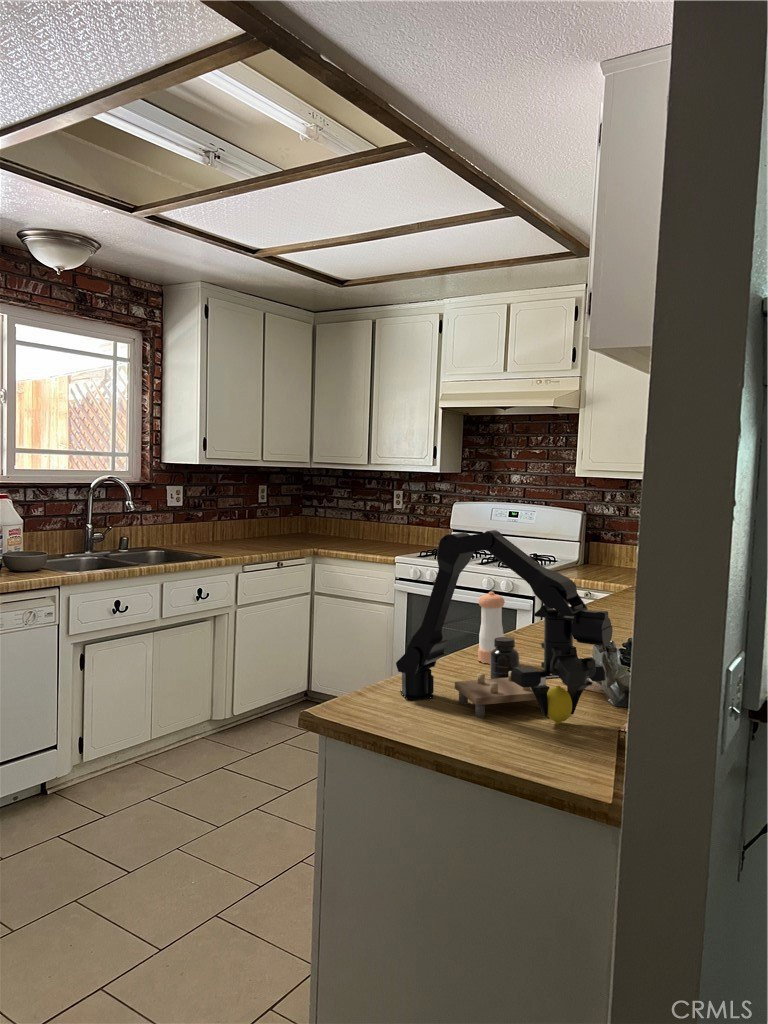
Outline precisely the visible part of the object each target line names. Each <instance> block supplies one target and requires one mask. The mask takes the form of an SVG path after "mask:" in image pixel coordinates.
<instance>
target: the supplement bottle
mask: <svg viewBox="0 0 768 1024" xmlns="http://www.w3.org/2000/svg"><path fill="white" fill-rule="evenodd" d="M494 647H495V649H494V650H492V652H491V654H490V668H489V669H490V679H496V678H508V677H509V671H512V670H513V668H514V667H520V653H519V651H518V650H517V649H515V647H516V642H515V638H514V637H510V636H509V637H508V636H504V637H498V638H495V639H494Z"/></svg>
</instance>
